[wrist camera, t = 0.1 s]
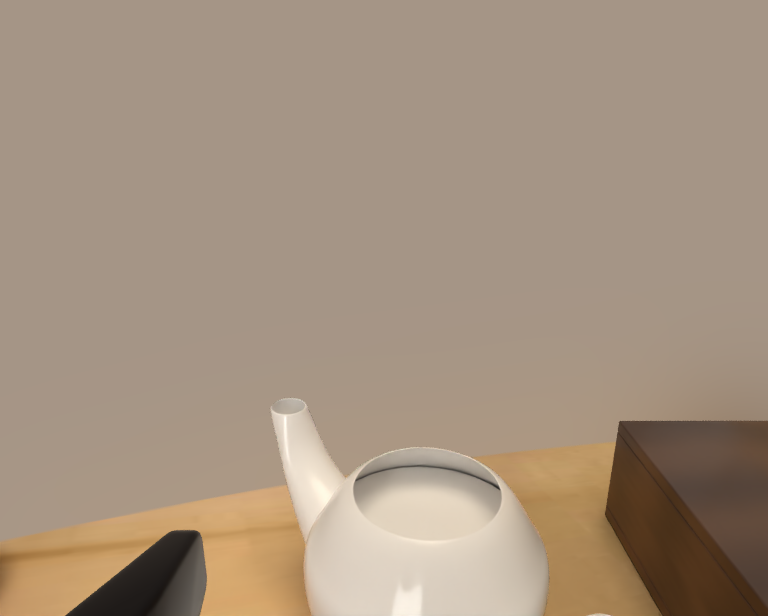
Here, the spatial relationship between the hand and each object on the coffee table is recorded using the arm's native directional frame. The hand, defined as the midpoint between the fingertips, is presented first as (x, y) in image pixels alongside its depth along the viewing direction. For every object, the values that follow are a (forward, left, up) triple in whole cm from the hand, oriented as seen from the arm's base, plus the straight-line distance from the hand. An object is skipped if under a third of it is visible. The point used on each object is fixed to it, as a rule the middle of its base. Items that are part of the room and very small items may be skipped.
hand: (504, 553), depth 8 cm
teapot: (+11, 0, -17) cm, 20 cm away
